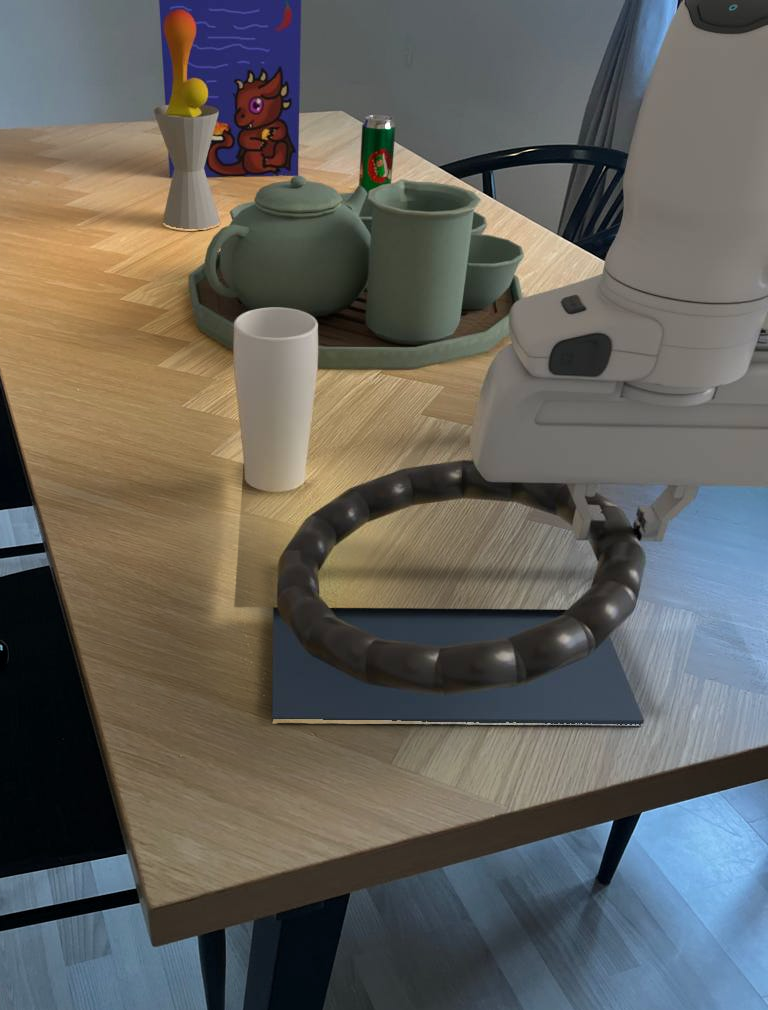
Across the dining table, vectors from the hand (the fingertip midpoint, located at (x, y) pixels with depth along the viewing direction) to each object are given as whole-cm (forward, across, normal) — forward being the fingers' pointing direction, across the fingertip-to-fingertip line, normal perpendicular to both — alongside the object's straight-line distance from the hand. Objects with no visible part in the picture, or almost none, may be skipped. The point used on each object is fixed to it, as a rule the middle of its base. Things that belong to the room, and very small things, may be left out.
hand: (615, 536), depth 63 cm
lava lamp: (+10, +36, -99) cm, 105 cm away
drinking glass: (+10, +22, -22) cm, 33 cm away
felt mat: (+10, +10, 0) cm, 14 cm away
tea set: (+10, +13, -64) cm, 66 cm away
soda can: (+10, +8, -111) cm, 111 cm away
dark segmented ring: (+2, +10, 0) cm, 10 cm away
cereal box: (+10, +31, -128) cm, 132 cm away
